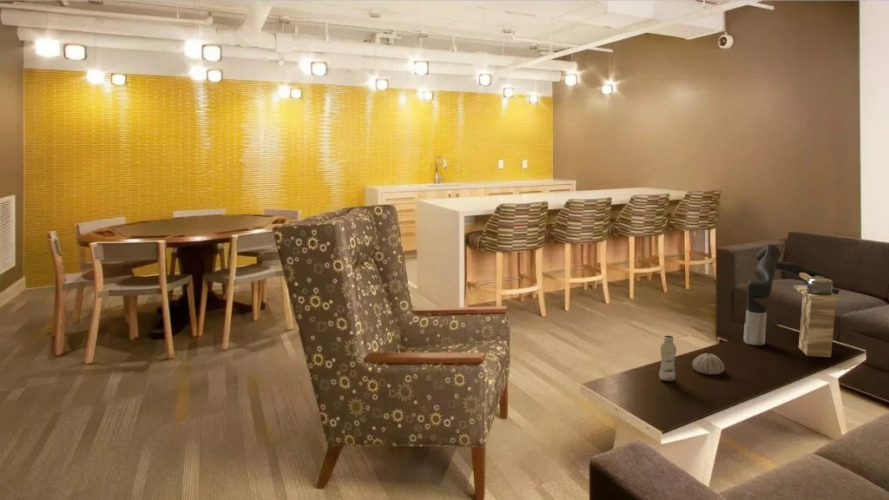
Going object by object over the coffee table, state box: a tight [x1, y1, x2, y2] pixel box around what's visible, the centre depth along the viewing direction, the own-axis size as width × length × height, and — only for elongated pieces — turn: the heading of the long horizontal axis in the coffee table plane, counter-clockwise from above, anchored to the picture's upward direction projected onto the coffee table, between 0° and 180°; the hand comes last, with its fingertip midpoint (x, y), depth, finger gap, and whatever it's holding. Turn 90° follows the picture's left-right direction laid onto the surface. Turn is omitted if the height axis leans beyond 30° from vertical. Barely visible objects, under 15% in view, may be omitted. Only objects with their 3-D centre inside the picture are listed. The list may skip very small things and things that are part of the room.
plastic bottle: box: [658, 335, 677, 382], centre depth 238 cm, size 6×7×20 cm
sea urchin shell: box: [691, 352, 725, 376], centre depth 248 cm, size 13×14×8 cm
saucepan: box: [799, 273, 833, 296], centre depth 271 cm, size 29×10×7 cm, turn 164°
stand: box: [793, 284, 839, 358], centre depth 269 cm, size 22×12×30 cm, turn 164°
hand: (825, 288), depth 282 cm, fingers open, 8 cm apart
